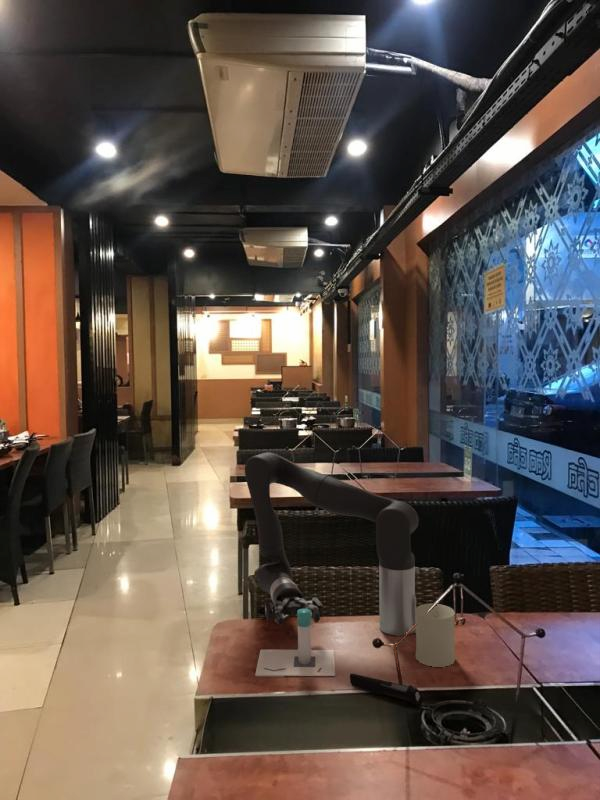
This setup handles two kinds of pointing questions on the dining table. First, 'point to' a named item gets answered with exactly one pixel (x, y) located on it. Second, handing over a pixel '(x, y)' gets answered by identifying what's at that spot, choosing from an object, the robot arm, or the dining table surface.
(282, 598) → the robot arm
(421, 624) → the can
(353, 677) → the electric trimmer
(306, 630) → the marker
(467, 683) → the dining table surface
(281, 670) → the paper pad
